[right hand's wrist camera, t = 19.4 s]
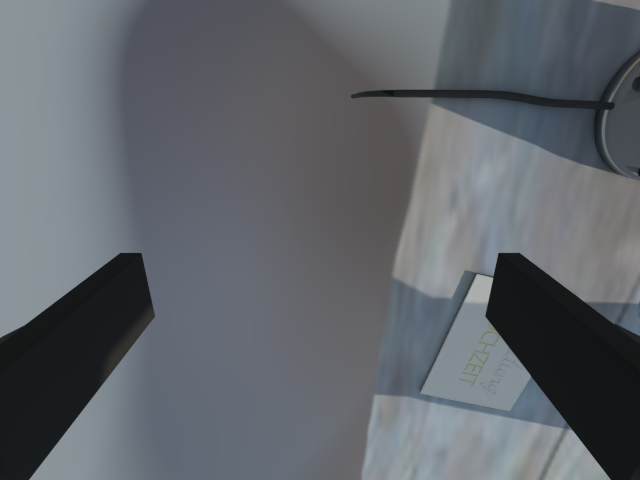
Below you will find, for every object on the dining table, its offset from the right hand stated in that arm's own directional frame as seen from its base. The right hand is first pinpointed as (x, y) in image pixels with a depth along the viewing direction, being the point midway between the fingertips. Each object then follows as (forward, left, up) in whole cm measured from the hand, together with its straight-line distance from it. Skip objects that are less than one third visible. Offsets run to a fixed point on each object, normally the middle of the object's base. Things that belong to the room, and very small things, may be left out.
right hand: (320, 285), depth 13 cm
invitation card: (+13, -34, -29) cm, 47 cm away
